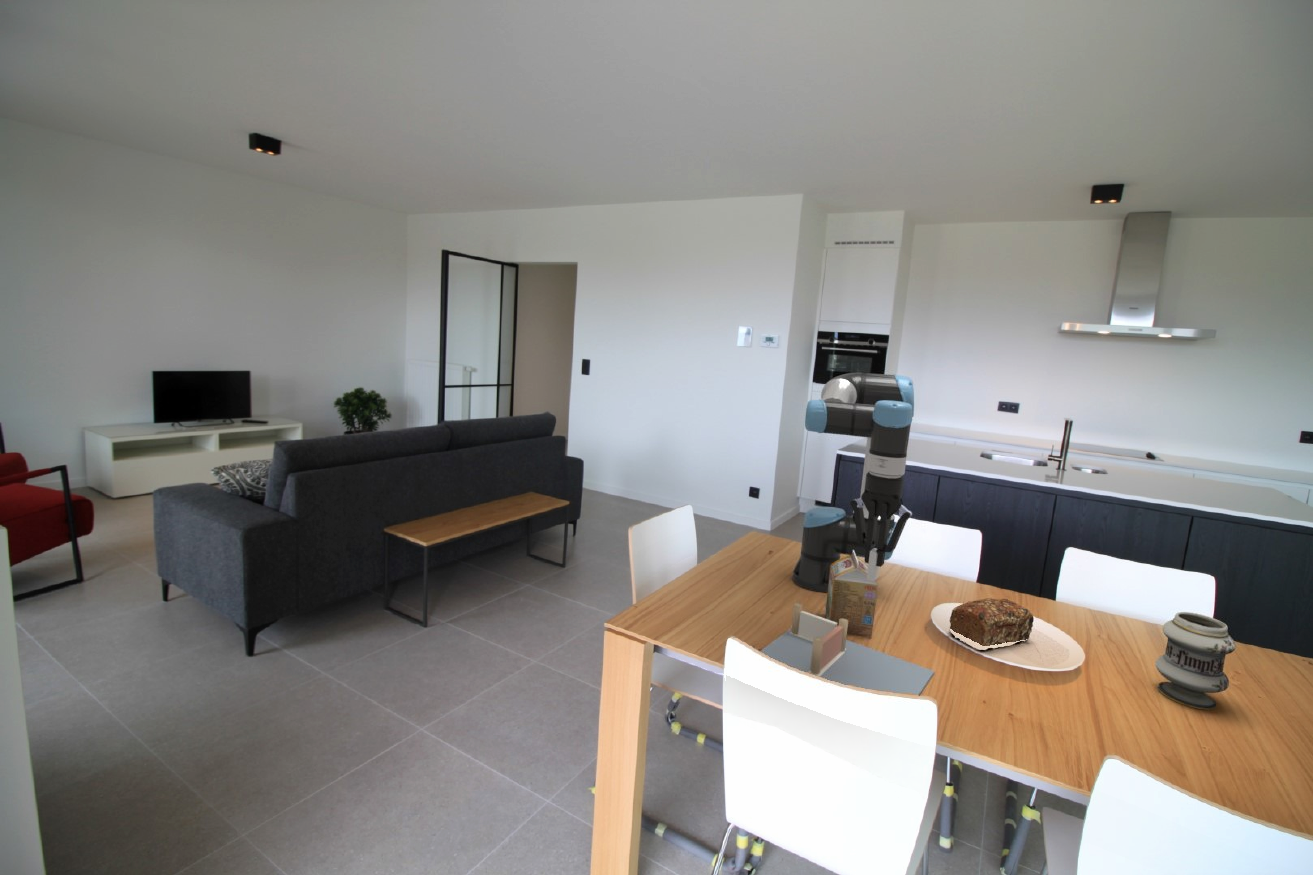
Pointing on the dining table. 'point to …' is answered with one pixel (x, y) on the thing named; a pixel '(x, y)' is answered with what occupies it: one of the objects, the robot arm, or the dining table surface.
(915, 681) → the board
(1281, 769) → the dining table surface
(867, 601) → the milk carton
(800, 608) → the fence fixed
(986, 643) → the bread
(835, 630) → the fence panel
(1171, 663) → the apothecary jar
